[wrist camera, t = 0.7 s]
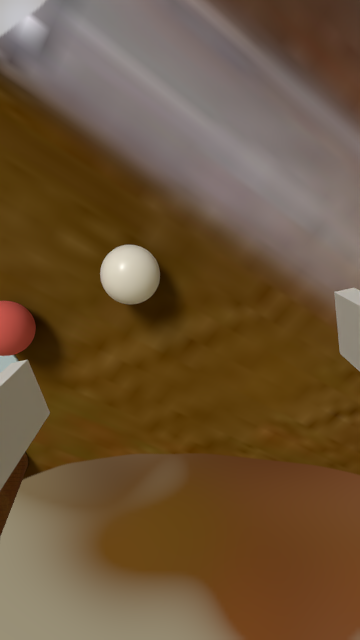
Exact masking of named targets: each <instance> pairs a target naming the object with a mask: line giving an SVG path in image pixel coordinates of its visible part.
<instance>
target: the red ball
mask: <svg viewBox="0 0 360 640" xmlns="http://www.w3.org/2000/svg"><path fill="white" fill-rule="evenodd" d="M35 331H36V325H35V321H34V318H33V316H32V314H31V313H30V312H29V311H28V310H27V309H26V308H25V307H24V306H22V305H20V304H18V303H15V302H11V301H0V356H10V355H14V354H17V353H19V352H21V351H23V350H24V349H26V348H27V347H28V346H29V345H30V343H31V342H32V340H33V338H34V336H35Z"/></svg>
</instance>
